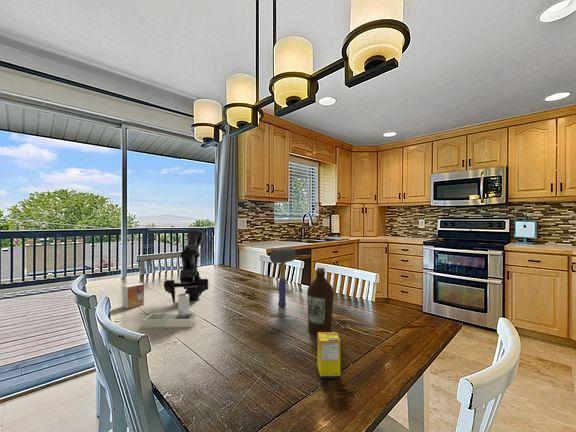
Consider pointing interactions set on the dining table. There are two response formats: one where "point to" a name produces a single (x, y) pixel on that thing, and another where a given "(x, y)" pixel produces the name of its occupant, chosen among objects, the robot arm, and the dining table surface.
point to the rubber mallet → (282, 269)
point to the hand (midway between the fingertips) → (184, 302)
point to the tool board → (167, 320)
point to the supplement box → (328, 355)
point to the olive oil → (320, 304)
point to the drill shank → (183, 306)
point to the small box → (133, 295)
